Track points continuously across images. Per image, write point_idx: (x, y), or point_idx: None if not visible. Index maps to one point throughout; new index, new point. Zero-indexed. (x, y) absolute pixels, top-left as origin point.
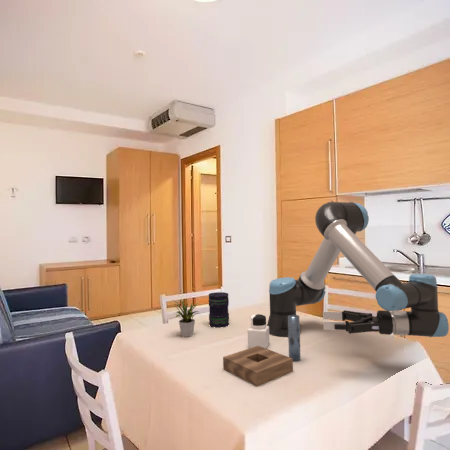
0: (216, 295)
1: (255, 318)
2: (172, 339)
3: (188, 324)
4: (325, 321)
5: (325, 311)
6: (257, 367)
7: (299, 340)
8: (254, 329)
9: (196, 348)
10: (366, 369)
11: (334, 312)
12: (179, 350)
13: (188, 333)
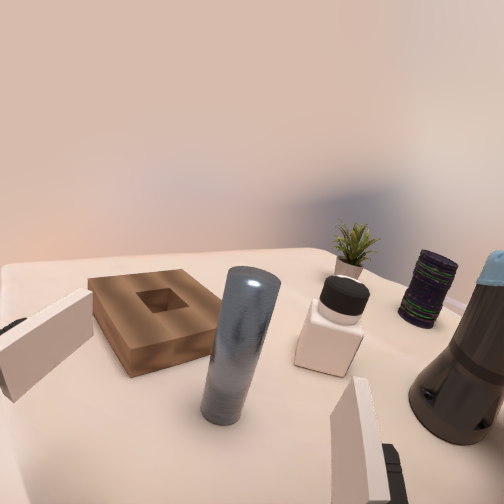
0: (429, 254)
1: (327, 278)
2: (315, 272)
3: (339, 263)
4: (74, 291)
5: (364, 389)
6: (108, 285)
7: (219, 371)
8: (316, 305)
9: None
10: None
11: (361, 444)
12: (268, 271)
13: None
